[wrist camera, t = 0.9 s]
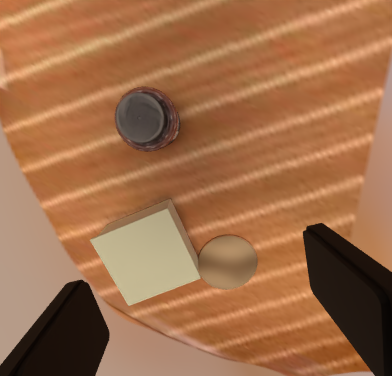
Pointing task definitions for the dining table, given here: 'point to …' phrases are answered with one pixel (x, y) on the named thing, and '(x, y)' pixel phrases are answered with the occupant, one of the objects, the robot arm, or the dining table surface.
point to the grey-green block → (148, 252)
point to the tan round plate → (227, 262)
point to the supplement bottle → (146, 119)
